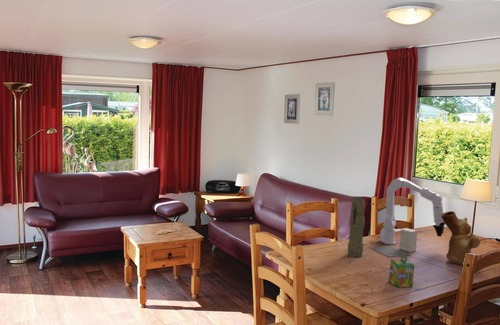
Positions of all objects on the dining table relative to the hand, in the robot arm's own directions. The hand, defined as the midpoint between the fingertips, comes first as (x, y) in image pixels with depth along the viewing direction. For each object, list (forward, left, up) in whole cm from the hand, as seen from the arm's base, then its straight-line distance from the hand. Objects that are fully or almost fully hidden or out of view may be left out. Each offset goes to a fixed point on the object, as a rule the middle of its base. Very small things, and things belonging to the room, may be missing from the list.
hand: (440, 234), depth 291 cm
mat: (-7, -32, -11) cm, 35 cm away
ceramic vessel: (+21, -5, -11) cm, 24 cm away
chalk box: (+42, -61, -11) cm, 75 cm away
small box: (-7, -18, -11) cm, 23 cm away
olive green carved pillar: (-5, -58, -11) cm, 60 cm away
